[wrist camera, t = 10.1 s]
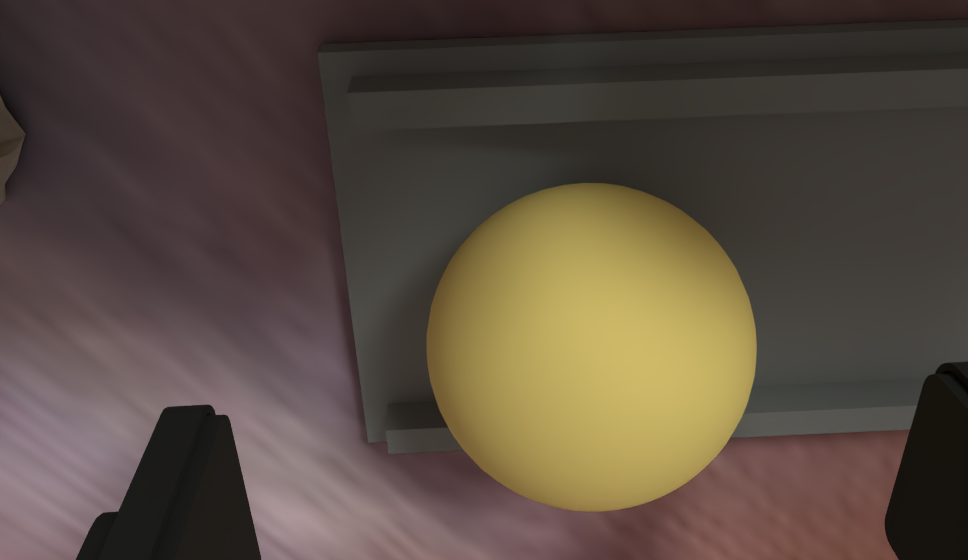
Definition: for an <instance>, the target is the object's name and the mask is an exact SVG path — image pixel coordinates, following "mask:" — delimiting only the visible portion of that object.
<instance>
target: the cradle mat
mask: <svg viewBox="0 0 968 560" xmlns="http://www.w3.org/2000/svg"><path fill="white" fill-rule="evenodd" d="M317 56H318V64H319V72H320V79H321V87H322V95H323V102H324V110H325V118H326V125H327V133H328V141H329V148H330V156H331V164H332V171H333V179H334V187H335V194H336V202H337V210H338V217H339V225H340V233H341V240H342V248H343V256H344V264H345V271H346V279H347V287H348V294H349V302H350V310H351V317H352V325H353V333H354V340H355V348H356V356H357V363H358V371H359V379H360V386H361V394H362V402H363V409H364V417H365V425H366V432H367V440H368V443H381V442H387V446H388V454H404V453H425V452H447V451H464V450H463V449H462V447H461V446H460V444H459V443H458V442H457V440H456V439H455V438H454V436H453V434H452V433H451V431H450V429H449V427H448V426H447V424H446V422H445V420H444V418H443V416H442V414H441V412H440V410H439V407H438V404H437V401H436V398H435V395H434V392H433V389H432V386H431V382H430V377H429V370H428V364H427V329H428V323H429V316H430V310H431V305H432V302H433V299H434V296H435V293H436V289H437V287H438V284H439V282H440V280H441V278H442V276H443V274H444V272H445V270H446V268H447V266H448V264H449V262H450V260H451V259H452V257H453V256H454V255H455V253H456V252H457V250H458V249H459V247H460V246H461V245H462V244H463V243H464V241H465V240H466V239H467V238H468V237H469V236H470V235H471V234H472V233H473V231H474V230H475V229H476V228H477V227H478V226H479V225H481V224H482V223H483V222H484V221H485V220H487V219H488V218H489V217H490V216H491V215H493V214H494V213H496V212H497V211H499V210H500V209H502V208H503V207H505V206H506V205H508V204H510V203H512V202H514V201H516V200H518V199H520V198H522V197H524V196H527V195H530V194H532V193H535V192H538V191H541V190H544V189H548V188H552V187H557V186H561V185H568V184H578V183H606V184H613V185H620V186H625V187H629V188H632V189H636V190H640V191H643V192H645V193H648V194H650V195H653V196H655V197H658V198H660V199H662V200H665V201H667V202H669V203H670V204H672V205H674V206H675V207H677V208H679V209H680V210H682V211H684V212H685V213H686V214H687V215H689V216H690V217H691V218H692V219H694V220H695V221H696V222H697V223H699V224H700V225H701V226H702V227H703V228H705V229H706V230H707V231H708V232H709V233H710V234H711V236H712V237H713V238H714V239H715V240H716V241H717V242H718V243H719V245H720V246H721V247H722V249H723V250H724V251H725V252H726V254H727V255H728V257H729V258H730V260H731V262H732V263H733V265H734V266H735V268H736V269H737V272H738V274H739V276H740V279H741V281H742V283H743V285H744V288H745V290H746V292H747V295H748V297H749V301H750V305H751V309H752V313H753V317H754V323H755V328H756V341H757V353H756V367H755V377H754V381H753V385H752V389H751V392H750V396H749V400H748V403H747V406H746V408H745V411H744V413H743V415H742V418H741V420H740V422H739V423H738V425H737V427H736V428H735V430H734V432H733V434H732V435H731V437H730V438H742V437H763V436H784V435H805V434H826V433H847V432H868V431H889V430H910V429H911V425H912V422H913V418H914V415H915V411H916V408H917V404H918V401H919V397H920V394H921V390H922V387H923V383H924V381H925V379H926V378H927V377H928V376H929V375H932V374H935V372H936V370H937V368H938V367H939V366H940V365H941V364H944V363H949V362H966V361H968V19H954V20H928V21H902V22H876V23H850V24H824V25H798V26H772V27H747V28H721V29H695V30H669V31H643V32H617V33H591V34H565V35H539V36H513V37H487V38H462V39H436V40H410V41H384V42H358V43H332V44H321V45H320V47H319V50H318V52H317Z"/></svg>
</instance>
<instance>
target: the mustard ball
mask: <svg viewBox="0 0 968 560" xmlns="http://www.w3.org/2000/svg"><path fill="white" fill-rule="evenodd" d="M756 353H757V341H756V328H755V323H754V317H753V313H752V309H751V305H750V301H749V297H748V295H747V292H746V290H745V288H744V285H743V283H742V281H741V279H740V276H739V274H738V272H737V269H736V268H735V266H734V265H733V263H732V262H731V260H730V258H729V257H728V255H727V254H726V252H725V251H724V250H723V249H722V247H721V246H720V245H719V243H718V242H717V241H716V240H715V239H714V238H713V237H712V236H711V234H710V233H709V232H708V231H707V230H706V229H705V228H703V227H702V226H701V225H700V224H699V223H697V222H696V221H695V220H694V219H692V218H691V217H690V216H689V215H687V214H686V213H685V212H684V211H682V210H680V209H679V208H677V207H675V206H674V205H672V204H670V203H669V202H667V201H665V200H662V199H660V198H658V197H655V196H653V195H650V194H648V193H645V192H643V191H640V190H636V189H632V188H629V187H625V186H620V185H613V184H606V183H578V184H568V185H561V186H557V187H552V188H548V189H544V190H541V191H538V192H535V193H532V194H530V195H527V196H524V197H522V198H520V199H518V200H516V201H514V202H512V203H510V204H508V205H506V206H505V207H503V208H502V209H500V210H499V211H497V212H496V213H494V214H493V215H491V216H490V217H489V218H488V219H487V220H485V221H484V222H483V223H482V224H481V225H479V226H478V227H477V228H476V229H475V230H474V231H473V233H472V234H471V235H470V236H469V237H468V238H467V239H466V240H465V241H464V243H463V244H462V245H461V246H460V247H459V249H458V250H457V252H456V253H455V255H454V256H453V257H452V259H451V260H450V262H449V264H448V266H447V268H446V270H445V272H444V274H443V276H442V278H441V280H440V282H439V284H438V287H437V289H436V293H435V296H434V299H433V302H432V305H431V310H430V316H429V323H428V329H427V364H428V370H429V377H430V382H431V386H432V389H433V392H434V395H435V398H436V401H437V404H438V407H439V410H440V412H441V414H442V416H443V418H444V420H445V422H446V424H447V426H448V427H449V429H450V431H451V433H452V434H453V436H454V438H455V439H456V440H457V442H458V443H459V444H460V446H461V447H462V449H463V450H464V451H465V452H466V453H467V454H468V455H469V456H470V457H471V459H472V460H473V461H474V462H475V463H476V464H477V465H478V466H479V467H480V468H481V469H482V470H483V471H485V472H486V473H487V474H489V475H490V476H491V477H492V478H494V479H495V480H496V481H498V482H499V483H501V484H502V485H504V486H505V487H507V488H509V489H511V490H512V491H514V492H516V493H517V494H519V495H522V496H524V497H526V498H529V499H531V500H534V501H537V502H540V503H543V504H546V505H550V506H553V507H557V508H562V509H567V510H574V511H584V512H601V511H612V510H619V509H624V508H630V507H634V506H637V505H641V504H644V503H647V502H650V501H653V500H655V499H658V498H660V497H662V496H664V495H666V494H668V493H670V492H672V491H674V490H676V489H678V488H679V487H681V486H682V485H684V484H685V483H687V482H688V481H690V480H691V479H692V478H693V477H695V476H696V475H697V474H698V473H700V472H701V471H702V470H703V469H704V468H705V467H706V466H707V465H708V464H709V463H710V462H711V461H712V460H713V459H714V458H715V457H716V456H717V455H718V454H719V452H720V451H721V450H722V449H723V447H724V446H725V445H726V443H727V442H728V440H729V439H730V437H731V435H732V434H733V432H734V430H735V428H736V427H737V425H738V423H739V422H740V420H741V418H742V415H743V413H744V411H745V408H746V406H747V403H748V400H749V396H750V392H751V389H752V385H753V381H754V377H755V367H756Z"/></svg>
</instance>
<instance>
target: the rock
mask: <svg viewBox="0 0 968 560" xmlns="http://www.w3.org/2000/svg"><path fill="white" fill-rule="evenodd" d="M24 138H25V132H24V131H23V130H22V128H21V127H20V126H19V125H18V123H17V122H16V121H15V119H14V118H13V117H12V115H11V114H10V113H9V111H8V110H7V109H6V107H5V105H4V103H3V100H2V98H1V95H0V204H2V203H3V202H5V201H6V193H5V183H6V181H7V180H8V178H9V177H10V175H11V174H12V172H13V171H14V169H15V168H16V166H17V163H18V159H19V155H20V151H21V147H22V144H23V141H24Z"/></svg>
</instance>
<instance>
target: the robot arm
mask: <svg viewBox="0 0 968 560" xmlns="http://www.w3.org/2000/svg"><path fill="white" fill-rule="evenodd" d="M885 531H886V536H887V539H888V542H889V544H890V546H891V548H892V549H893V551H894V552H895V554H896V556H897V557H898V559H899V560H968V361H966V362H949V363H944V364H941V365H940V366H939V367H938V368H937V370H936V372H935V374H932V375H929V376H928V377H927V378H926V379H925V381H924V383H923V387H922V390H921V394H920V397H919V401H918V404H917V408H916V411H915V415H914V418H913V422H912V425H911V429H910V432H909V436H908V439H907V443H906V446H905V450H904V453H903V457H902V460H901V464H900V467H899V471H898V474H897V478H896V481H895V485H894V488H893V492H892V495H891V499H890V502H889V506H888V509H887V513H886V517H885ZM76 560H261V555H260V551H259V546H258V542H257V537H256V533H255V529H254V524H253V520H252V515H251V511H250V507H249V502H248V498H247V494H246V489H245V485H244V480H243V476H242V472H241V467H240V463H239V458H238V454H237V450H236V445H235V441H234V436H233V432H232V428H231V423H230V420H229V418H228V416H227V415H216V414H215V411H214V409H213V407H212V406H211V405H193V406H176V407H167V408H165V409H164V410H163V412H162V413H161V415H160V418H159V420H158V422H157V424H156V427H155V429H154V431H153V434H152V436H151V438H150V441H149V443H148V445H147V447H146V450H145V452H144V454H143V457H142V459H141V461H140V464H139V466H138V468H137V470H136V473H135V475H134V477H133V480H132V482H131V484H130V487H129V489H128V491H127V493H126V496H125V498H124V500H123V503H122V505H121V507H120V509H119V512H107V513H102V514H101V515H100V516H98V517H97V518H96V520H95V521H94V523H93V525H92V526H91V528H90V530H89V532H88V534H87V537H86V539H85V541H84V543H83V545H82V547H81V549H80V552H79V554H78V556H77V558H76Z"/></svg>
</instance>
